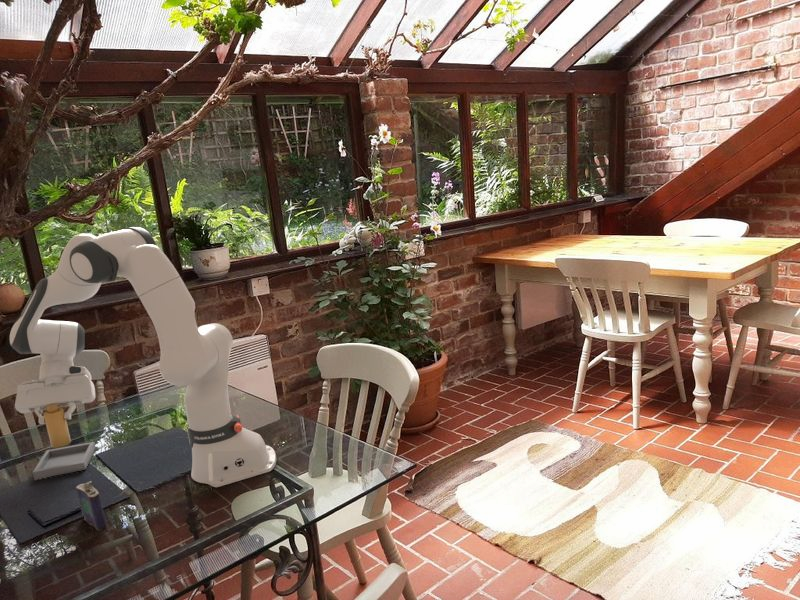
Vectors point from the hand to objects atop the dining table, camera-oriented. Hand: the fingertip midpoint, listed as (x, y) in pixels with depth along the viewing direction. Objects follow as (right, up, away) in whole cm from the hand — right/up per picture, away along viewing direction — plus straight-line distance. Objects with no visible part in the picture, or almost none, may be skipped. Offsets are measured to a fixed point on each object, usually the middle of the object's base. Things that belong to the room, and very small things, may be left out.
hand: (55, 421), depth 170 cm
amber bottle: (0, -7, +2) cm, 7 cm away
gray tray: (+1, -13, +4) cm, 14 cm away
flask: (+24, -19, -25) cm, 40 cm away
